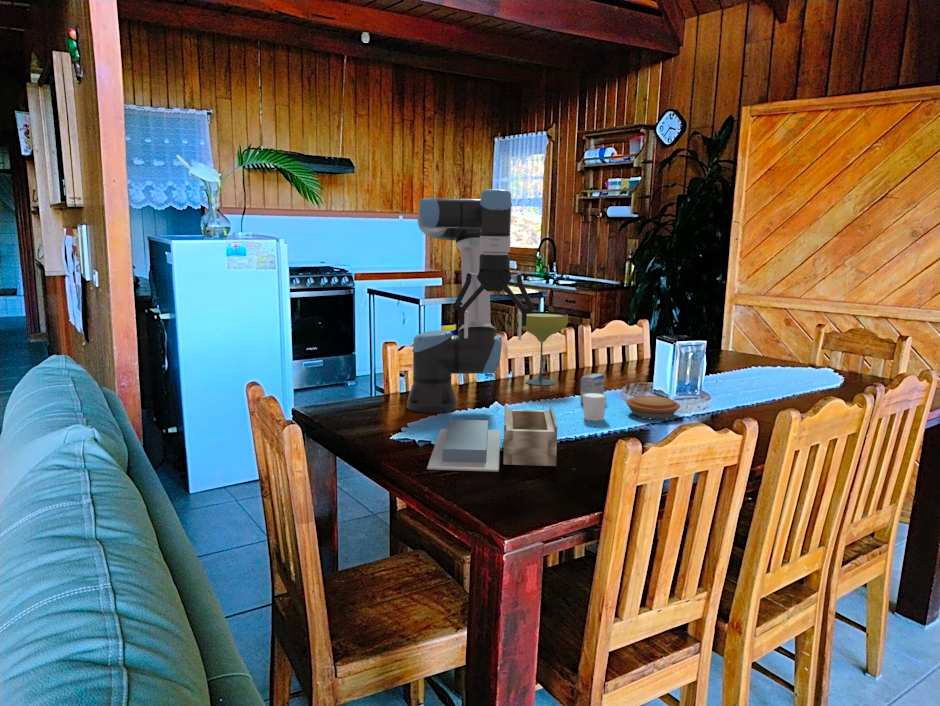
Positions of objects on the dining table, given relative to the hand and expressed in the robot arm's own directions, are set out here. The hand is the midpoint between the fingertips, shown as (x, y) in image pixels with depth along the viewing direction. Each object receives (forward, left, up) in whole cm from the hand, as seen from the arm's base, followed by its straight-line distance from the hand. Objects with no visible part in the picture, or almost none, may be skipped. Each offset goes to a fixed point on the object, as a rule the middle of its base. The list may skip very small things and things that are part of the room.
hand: (492, 338), depth 173 cm
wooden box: (+9, -11, -26) cm, 30 cm away
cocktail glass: (+16, +72, -26) cm, 78 cm away
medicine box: (+31, +44, -26) cm, 60 cm away
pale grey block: (-6, -8, -26) cm, 28 cm away
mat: (-6, -10, -26) cm, 29 cm away
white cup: (+29, +23, -26) cm, 46 cm away
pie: (+47, +29, -27) cm, 61 cm away
